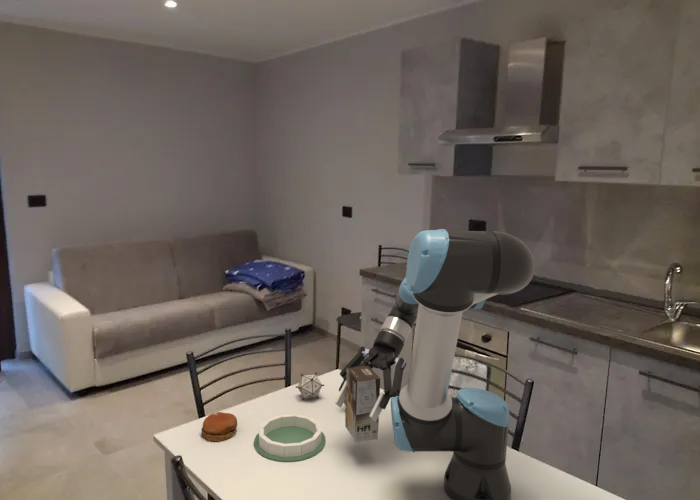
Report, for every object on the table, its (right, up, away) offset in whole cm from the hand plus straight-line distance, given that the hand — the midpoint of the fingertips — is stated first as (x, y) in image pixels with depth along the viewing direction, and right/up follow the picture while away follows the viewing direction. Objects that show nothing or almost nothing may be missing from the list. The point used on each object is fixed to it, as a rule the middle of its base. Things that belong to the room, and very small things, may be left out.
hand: (354, 411), depth 125 cm
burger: (-37, -10, +13) cm, 41 cm away
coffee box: (+2, -7, +3) cm, 7 cm away
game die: (-14, -7, +36) cm, 39 cm away
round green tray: (-17, -11, +9) cm, 23 cm away
